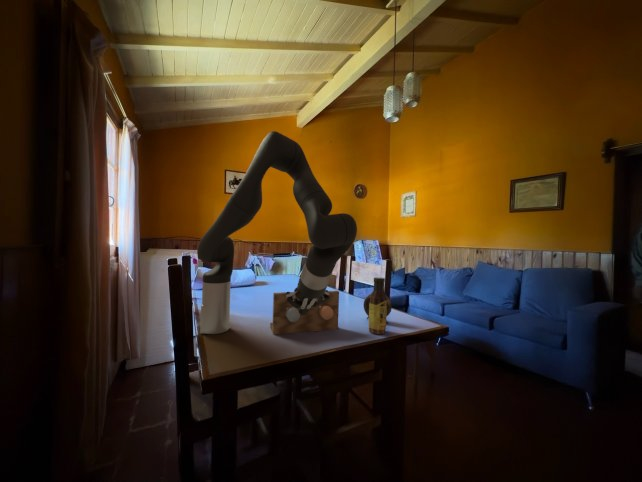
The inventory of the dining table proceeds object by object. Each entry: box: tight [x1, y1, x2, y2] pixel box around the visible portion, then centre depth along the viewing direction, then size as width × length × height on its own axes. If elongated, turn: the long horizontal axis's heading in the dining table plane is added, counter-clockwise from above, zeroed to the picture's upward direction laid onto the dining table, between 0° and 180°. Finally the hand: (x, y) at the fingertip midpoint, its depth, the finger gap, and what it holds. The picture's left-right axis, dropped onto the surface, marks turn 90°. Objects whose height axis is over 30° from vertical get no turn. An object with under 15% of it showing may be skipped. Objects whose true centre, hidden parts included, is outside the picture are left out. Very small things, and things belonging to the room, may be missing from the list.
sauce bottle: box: [368, 277, 387, 335], centre depth 98 cm, size 7×6×20 cm
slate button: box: [286, 307, 300, 322], centre depth 95 cm, size 10×4×4 cm, turn 18°
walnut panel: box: [269, 290, 340, 335], centre depth 100 cm, size 24×8×14 cm, turn 108°
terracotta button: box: [319, 305, 333, 320], centre depth 99 cm, size 10×4×4 cm, turn 18°
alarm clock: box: [363, 293, 393, 324], centre depth 111 cm, size 11×5×16 cm, turn 58°
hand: (302, 312), depth 81 cm, fingers closed
